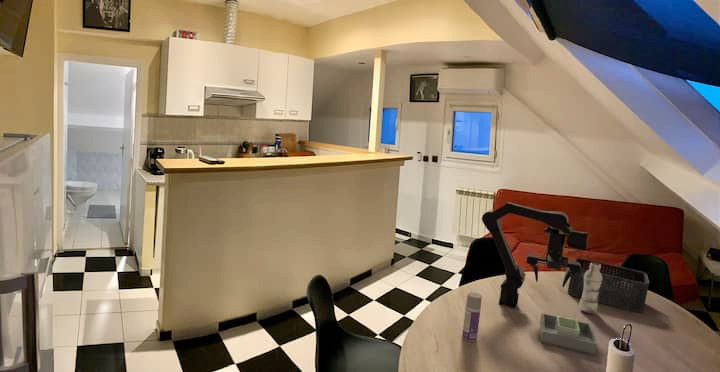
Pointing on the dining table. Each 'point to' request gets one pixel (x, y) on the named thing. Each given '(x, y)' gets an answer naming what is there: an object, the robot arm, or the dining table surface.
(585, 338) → the large crate
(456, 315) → the dining table surface
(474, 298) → the container
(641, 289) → the storage bin
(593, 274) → the plastic bottle
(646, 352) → the dining table surface
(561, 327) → the small crate
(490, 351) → the dining table surface
